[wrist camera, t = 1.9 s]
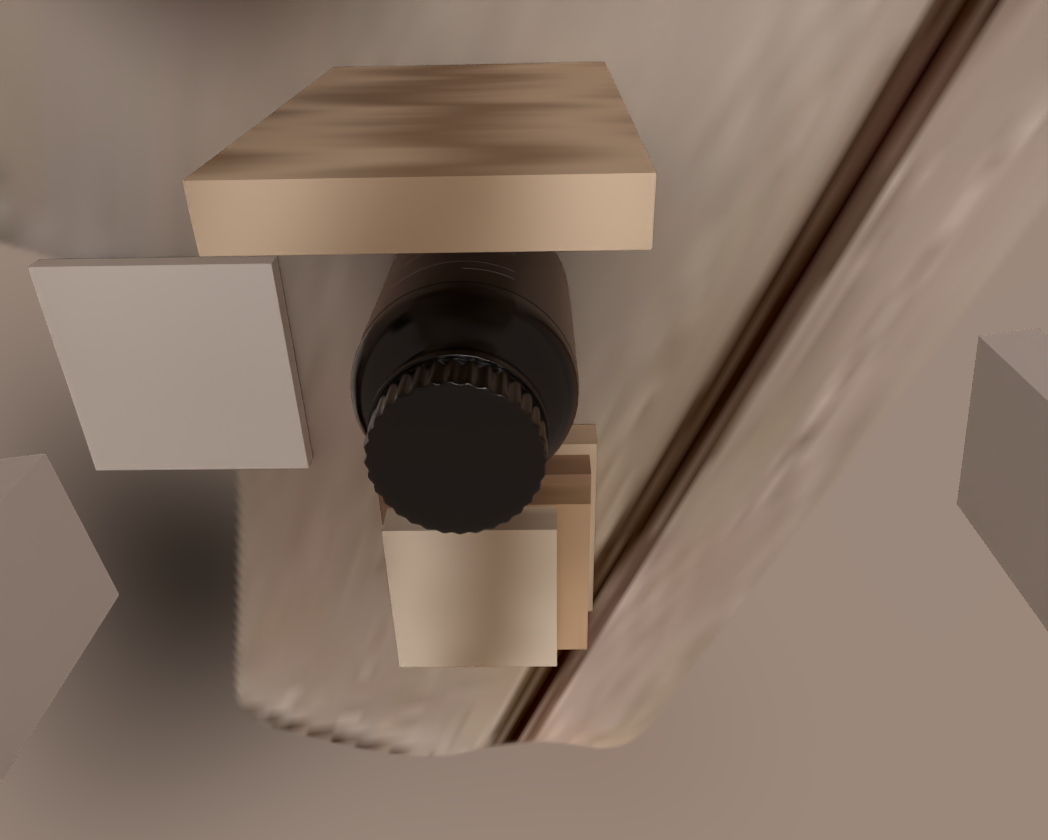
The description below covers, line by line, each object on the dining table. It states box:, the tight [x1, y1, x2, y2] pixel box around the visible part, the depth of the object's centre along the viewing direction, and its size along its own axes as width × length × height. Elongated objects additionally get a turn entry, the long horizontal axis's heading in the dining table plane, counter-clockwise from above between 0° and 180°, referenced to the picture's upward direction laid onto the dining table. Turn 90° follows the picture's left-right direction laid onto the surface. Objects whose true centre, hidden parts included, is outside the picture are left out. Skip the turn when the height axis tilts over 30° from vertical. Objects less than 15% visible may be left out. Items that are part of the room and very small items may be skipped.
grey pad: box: [28, 256, 313, 470], centre depth 34 cm, size 9×9×1 cm
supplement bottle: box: [351, 251, 579, 535], centre depth 27 cm, size 7×7×12 cm
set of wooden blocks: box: [182, 62, 656, 667], centre depth 28 cm, size 9×23×14 cm, turn 1°
